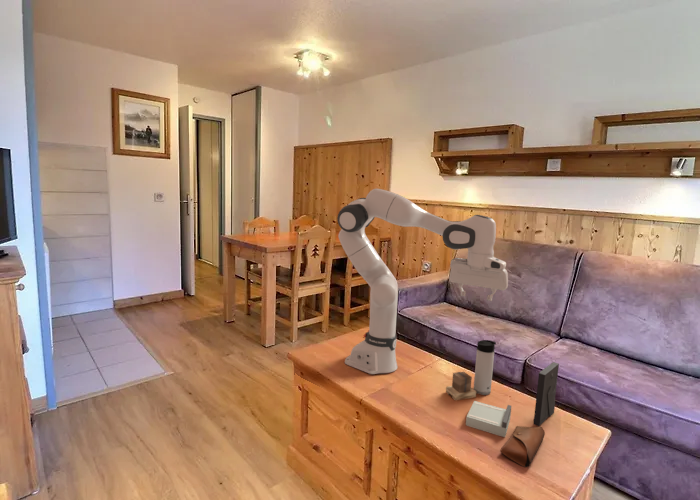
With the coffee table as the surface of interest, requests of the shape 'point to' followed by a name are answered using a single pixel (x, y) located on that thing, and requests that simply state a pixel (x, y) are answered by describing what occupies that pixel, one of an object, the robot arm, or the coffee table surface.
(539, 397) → the picture frame
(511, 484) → the coffee table surface
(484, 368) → the travel mug
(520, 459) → the sunglasses case
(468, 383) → the pallet
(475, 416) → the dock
